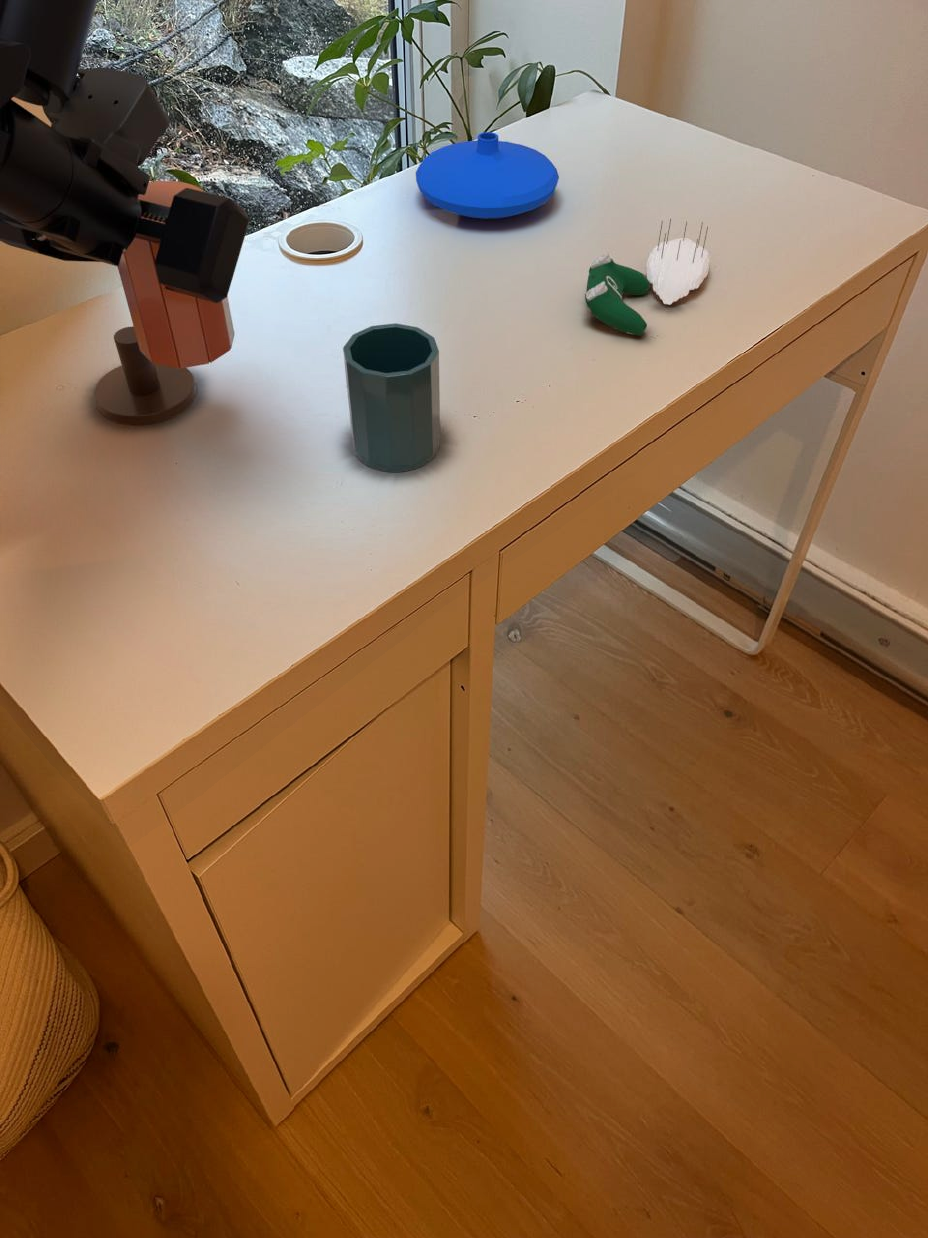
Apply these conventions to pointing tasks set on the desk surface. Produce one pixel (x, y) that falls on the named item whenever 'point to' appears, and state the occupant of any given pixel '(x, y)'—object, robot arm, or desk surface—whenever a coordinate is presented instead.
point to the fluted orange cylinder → (171, 303)
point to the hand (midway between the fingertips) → (184, 266)
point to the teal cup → (393, 396)
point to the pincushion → (677, 267)
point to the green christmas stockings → (615, 294)
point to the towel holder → (142, 386)
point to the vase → (487, 178)
